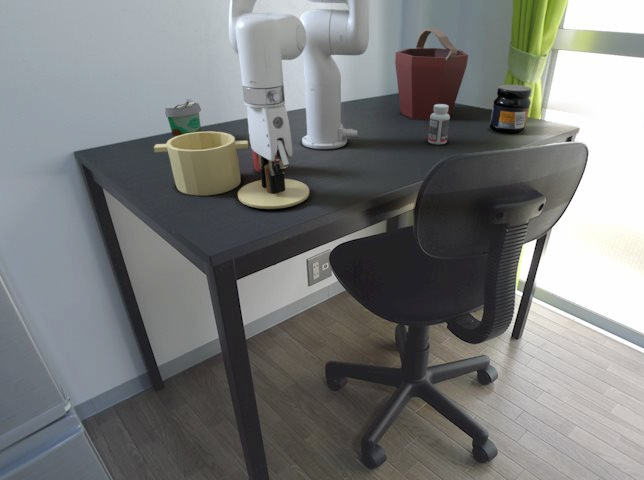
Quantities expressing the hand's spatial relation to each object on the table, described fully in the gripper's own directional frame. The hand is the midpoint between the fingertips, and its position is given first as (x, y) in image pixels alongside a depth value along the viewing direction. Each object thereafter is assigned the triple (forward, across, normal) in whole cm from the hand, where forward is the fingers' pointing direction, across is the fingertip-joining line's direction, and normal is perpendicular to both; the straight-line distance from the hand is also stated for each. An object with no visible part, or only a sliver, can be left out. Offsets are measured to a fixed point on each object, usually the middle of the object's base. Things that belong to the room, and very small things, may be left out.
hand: (273, 188), depth 94 cm
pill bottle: (+2, +8, -56) cm, 57 cm away
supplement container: (+2, +4, -82) cm, 82 cm away
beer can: (+2, +15, -6) cm, 17 cm away
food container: (+2, +48, 0) cm, 48 cm away
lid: (+1, 0, 0) cm, 1 cm away
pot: (+2, +15, +8) cm, 18 cm away
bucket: (+2, +34, -75) cm, 83 cm away
